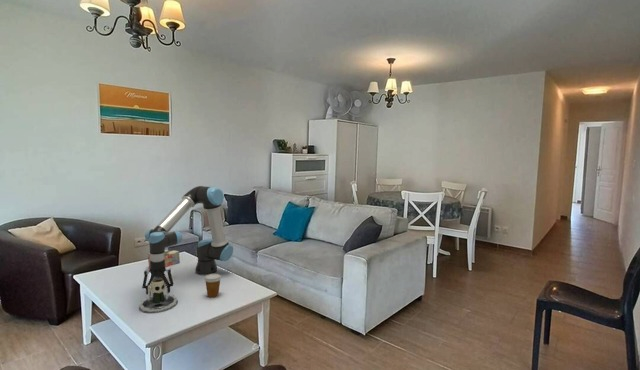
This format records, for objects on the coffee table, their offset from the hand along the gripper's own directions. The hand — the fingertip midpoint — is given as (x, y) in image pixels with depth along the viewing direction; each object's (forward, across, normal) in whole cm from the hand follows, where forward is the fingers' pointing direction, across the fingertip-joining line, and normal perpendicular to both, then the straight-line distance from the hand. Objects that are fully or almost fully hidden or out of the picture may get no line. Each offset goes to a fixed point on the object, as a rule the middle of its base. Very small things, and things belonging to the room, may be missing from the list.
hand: (158, 298), depth 192 cm
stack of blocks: (+4, +9, -67) cm, 68 cm away
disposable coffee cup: (+4, -29, -7) cm, 30 cm away
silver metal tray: (+3, 0, 0) cm, 3 cm away
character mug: (+2, 0, 0) cm, 2 cm away
